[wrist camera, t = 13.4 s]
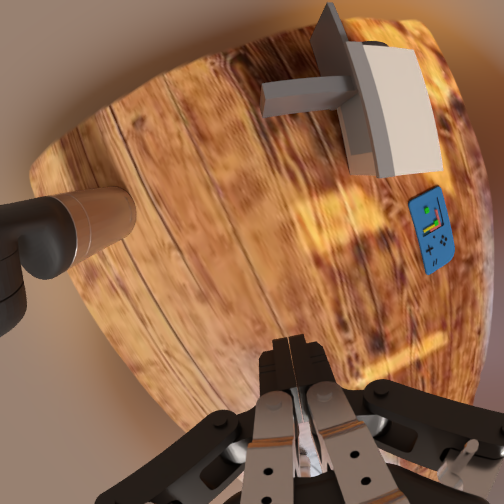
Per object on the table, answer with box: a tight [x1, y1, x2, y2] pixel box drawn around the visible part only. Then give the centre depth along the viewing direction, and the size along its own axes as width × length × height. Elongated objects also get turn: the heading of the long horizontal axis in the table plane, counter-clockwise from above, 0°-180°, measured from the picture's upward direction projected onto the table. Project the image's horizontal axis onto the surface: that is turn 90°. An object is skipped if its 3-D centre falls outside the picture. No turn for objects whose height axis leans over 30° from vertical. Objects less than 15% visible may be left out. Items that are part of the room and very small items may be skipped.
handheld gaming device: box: [408, 187, 455, 275], centre depth 42 cm, size 8×1×15 cm
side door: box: [260, 3, 358, 118], centre depth 29 cm, size 11×13×12 cm
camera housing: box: [337, 41, 443, 178], centre depth 30 cm, size 10×18×15 cm, turn 11°
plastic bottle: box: [300, 454, 311, 477], centre depth 49 cm, size 6×7×20 cm
